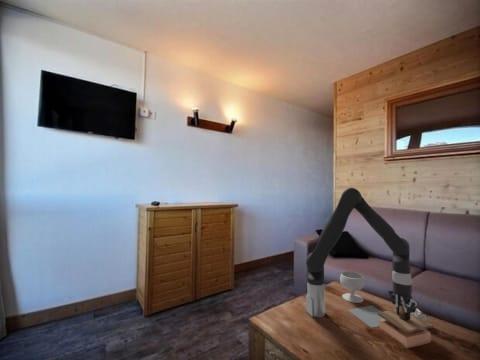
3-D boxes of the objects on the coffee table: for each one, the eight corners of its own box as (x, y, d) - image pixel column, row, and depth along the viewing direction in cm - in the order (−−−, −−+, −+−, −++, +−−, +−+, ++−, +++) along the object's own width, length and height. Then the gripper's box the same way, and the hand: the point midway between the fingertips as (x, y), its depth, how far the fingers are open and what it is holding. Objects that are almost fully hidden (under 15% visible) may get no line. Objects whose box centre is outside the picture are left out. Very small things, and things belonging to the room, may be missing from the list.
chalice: (346, 291, 152) (345, 269, 152) (368, 299, 141) (368, 275, 142) (336, 298, 143) (335, 274, 143) (359, 306, 132) (358, 281, 133)
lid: (406, 333, 98) (405, 317, 98) (377, 314, 112) (377, 300, 113) (432, 327, 102) (431, 311, 102) (401, 310, 116) (400, 296, 116)
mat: (371, 328, 112) (371, 327, 112) (347, 310, 129) (347, 309, 129) (398, 322, 117) (398, 322, 117) (371, 306, 133) (371, 305, 133)
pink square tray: (406, 348, 98) (406, 337, 98) (379, 328, 112) (379, 319, 112) (431, 342, 102) (430, 332, 102) (401, 324, 115) (401, 315, 115)
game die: (422, 334, 113) (435, 324, 107) (404, 326, 115) (416, 316, 109) (417, 316, 120) (429, 307, 115) (400, 309, 122) (411, 300, 116)
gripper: (382, 276, 113) (384, 310, 113) (410, 288, 100) (411, 327, 99) (394, 274, 115) (396, 308, 115) (423, 286, 102) (424, 324, 101)
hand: (403, 317), depth 107 cm, fingers closed on lid, 3 cm apart
